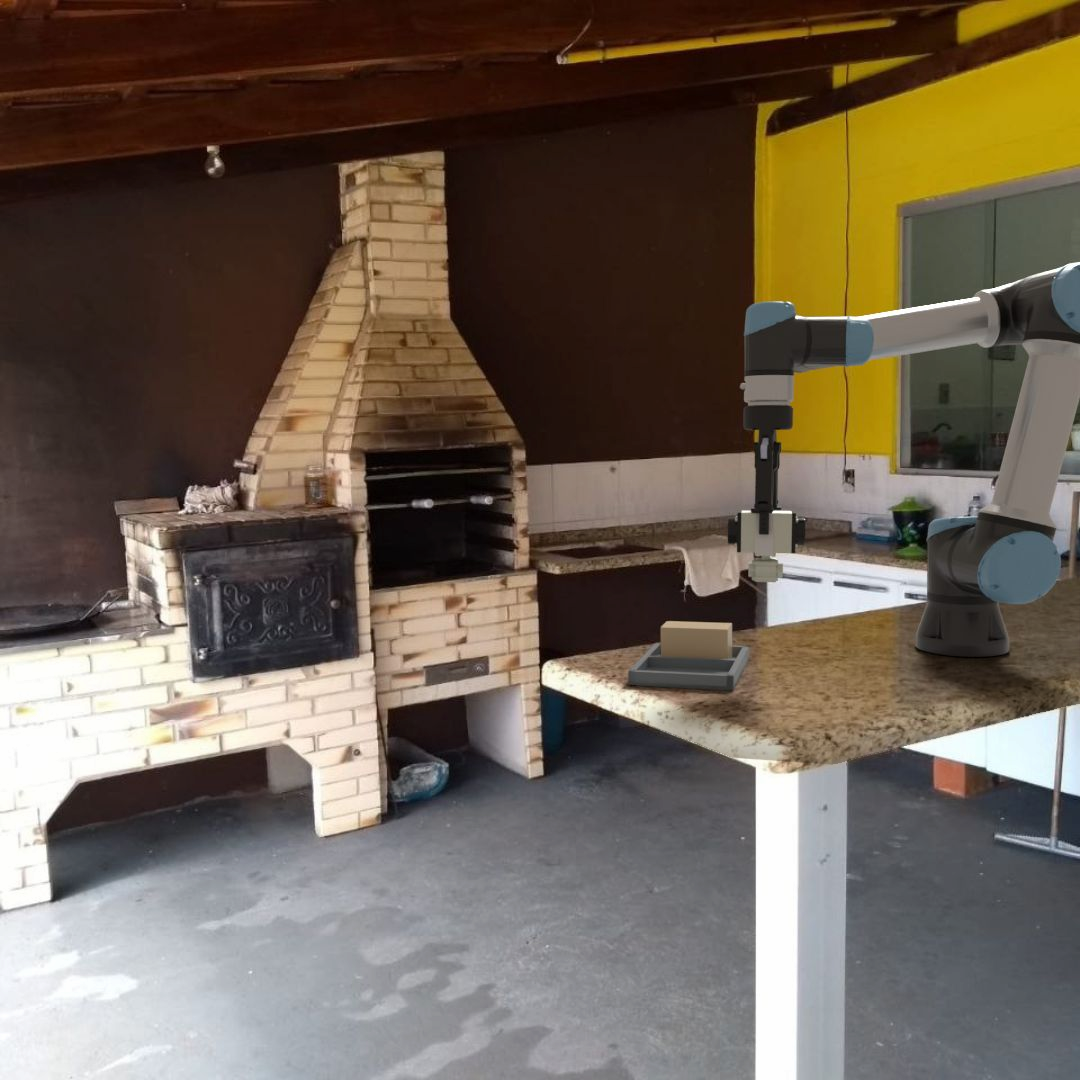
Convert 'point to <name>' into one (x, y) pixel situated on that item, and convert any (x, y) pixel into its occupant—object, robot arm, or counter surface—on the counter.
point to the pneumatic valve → (784, 541)
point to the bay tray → (692, 658)
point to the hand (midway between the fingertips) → (765, 553)
